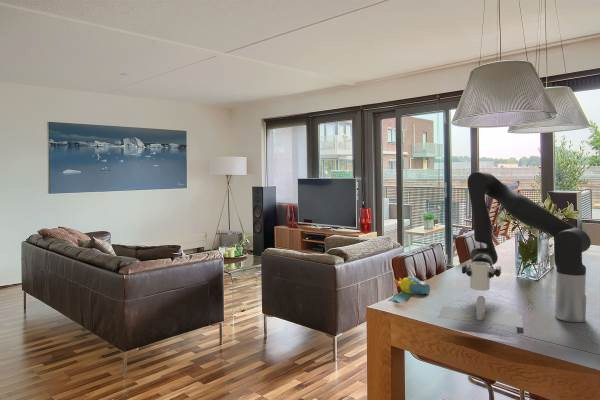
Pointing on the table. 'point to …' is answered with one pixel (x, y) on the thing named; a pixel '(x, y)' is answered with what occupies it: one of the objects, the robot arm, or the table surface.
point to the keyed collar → (479, 276)
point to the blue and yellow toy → (410, 289)
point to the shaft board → (488, 317)
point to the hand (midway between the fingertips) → (479, 274)
